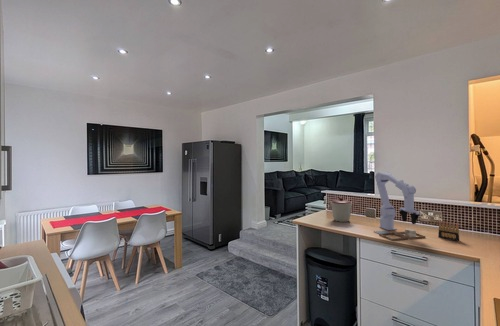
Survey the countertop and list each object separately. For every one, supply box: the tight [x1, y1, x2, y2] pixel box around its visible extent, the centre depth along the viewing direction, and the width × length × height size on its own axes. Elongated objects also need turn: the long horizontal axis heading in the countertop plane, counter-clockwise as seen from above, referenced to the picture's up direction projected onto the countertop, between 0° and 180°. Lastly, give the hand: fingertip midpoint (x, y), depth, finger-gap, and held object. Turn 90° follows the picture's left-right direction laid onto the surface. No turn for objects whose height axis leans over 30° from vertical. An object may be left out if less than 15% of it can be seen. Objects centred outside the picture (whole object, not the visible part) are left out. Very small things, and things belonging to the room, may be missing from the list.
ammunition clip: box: [438, 219, 460, 242], centre depth 158 cm, size 11×2×12 cm, turn 40°
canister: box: [330, 196, 353, 223], centre depth 211 cm, size 18×18×21 cm
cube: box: [404, 228, 417, 237], centre depth 166 cm, size 4×4×4 cm
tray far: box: [395, 231, 426, 240], centre depth 166 cm, size 12×12×1 cm
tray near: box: [378, 232, 409, 242], centre depth 163 cm, size 12×12×1 cm
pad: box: [373, 230, 392, 235], centre depth 173 cm, size 7×10×1 cm
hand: (409, 222), depth 165 cm, fingers open, 7 cm apart
